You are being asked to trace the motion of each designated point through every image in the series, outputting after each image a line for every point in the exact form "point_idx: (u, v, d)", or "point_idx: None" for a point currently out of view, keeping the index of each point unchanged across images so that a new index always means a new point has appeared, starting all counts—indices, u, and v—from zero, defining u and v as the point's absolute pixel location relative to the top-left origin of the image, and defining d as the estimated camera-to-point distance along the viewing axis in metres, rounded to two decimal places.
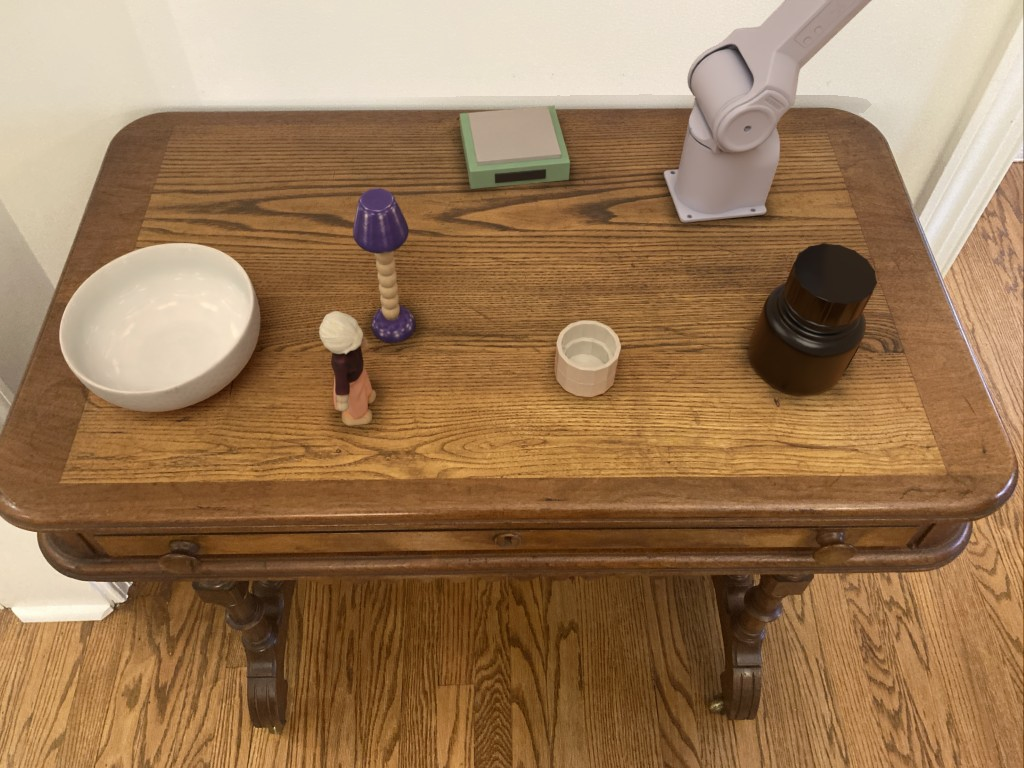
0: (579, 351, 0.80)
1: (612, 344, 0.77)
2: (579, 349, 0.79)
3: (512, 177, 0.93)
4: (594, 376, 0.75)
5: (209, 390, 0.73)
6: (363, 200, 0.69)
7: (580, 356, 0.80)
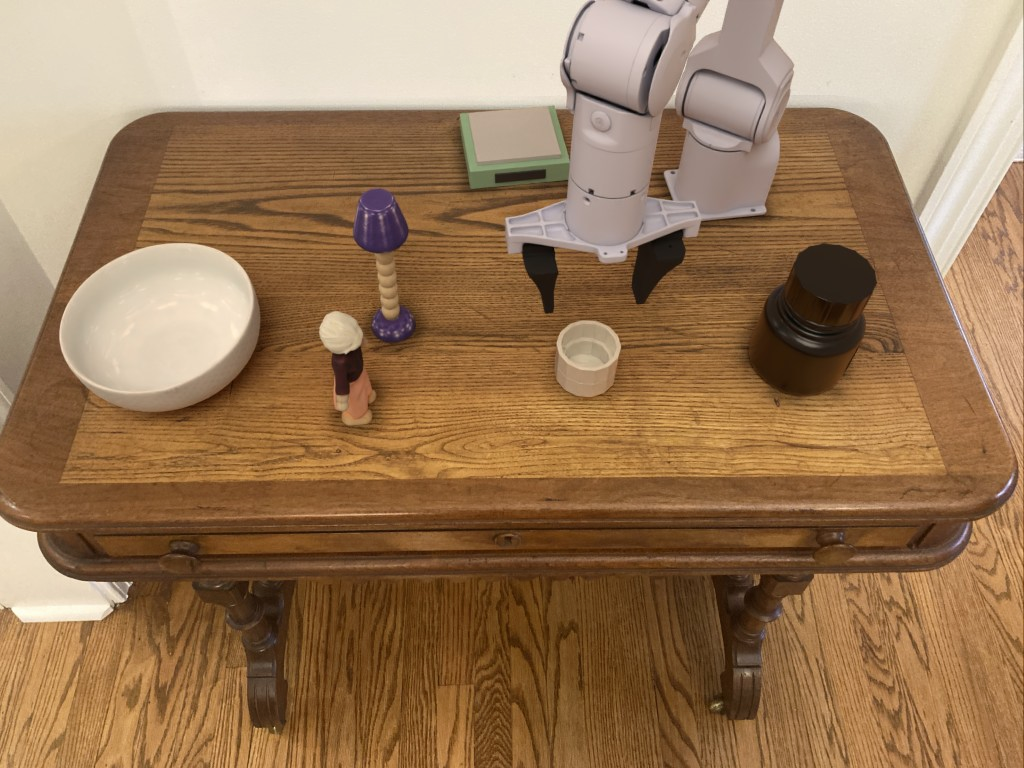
0: (579, 351, 0.80)
1: (612, 344, 0.77)
2: (579, 349, 0.79)
3: (512, 177, 0.93)
4: (594, 376, 0.75)
5: (209, 390, 0.73)
6: (363, 200, 0.69)
7: (580, 356, 0.80)
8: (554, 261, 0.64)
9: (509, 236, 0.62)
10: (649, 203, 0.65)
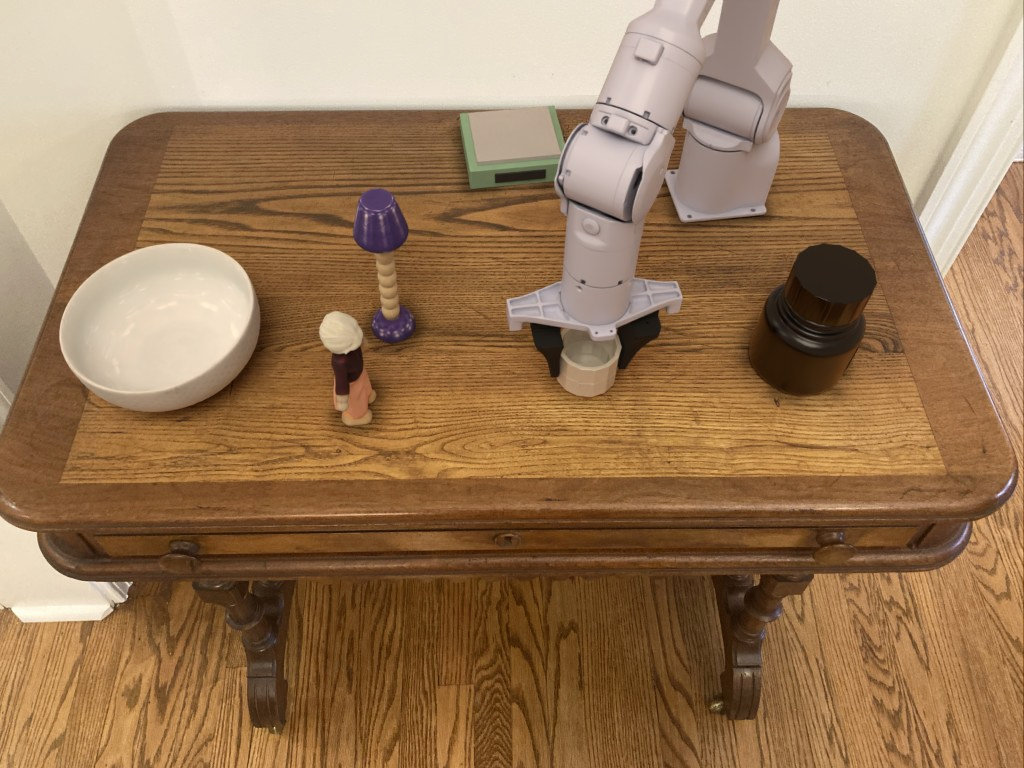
0: (579, 351, 0.80)
1: (612, 344, 0.77)
2: (579, 349, 0.79)
3: (512, 177, 0.93)
4: (594, 376, 0.75)
5: (209, 390, 0.73)
6: (363, 200, 0.69)
7: (580, 356, 0.80)
8: (560, 336, 0.71)
9: (510, 317, 0.69)
10: (636, 283, 0.72)
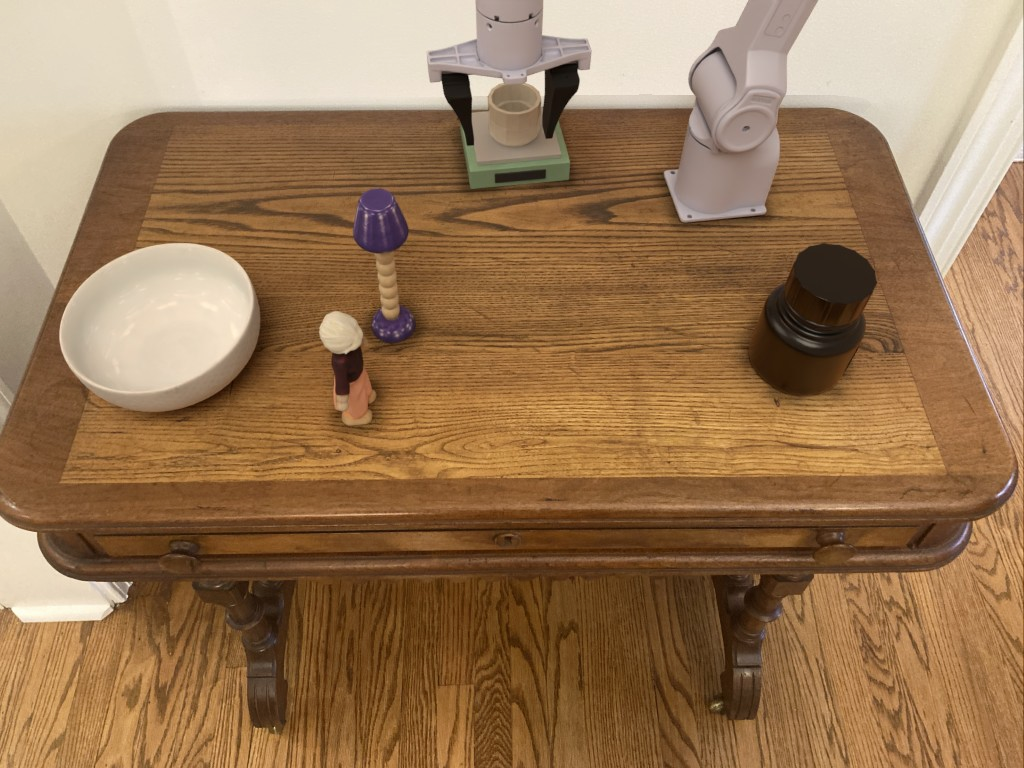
0: None
1: (535, 101, 0.92)
2: (509, 111, 0.95)
3: (512, 177, 0.93)
4: (518, 121, 0.90)
5: (209, 390, 0.73)
6: (363, 200, 0.69)
7: None
8: (469, 89, 0.76)
9: (429, 64, 0.74)
10: (549, 41, 0.77)
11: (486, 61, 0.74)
